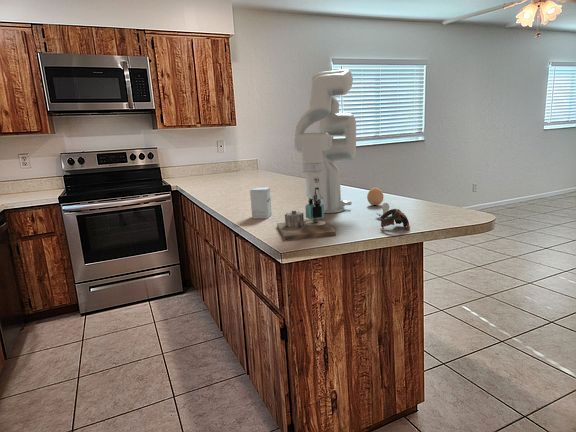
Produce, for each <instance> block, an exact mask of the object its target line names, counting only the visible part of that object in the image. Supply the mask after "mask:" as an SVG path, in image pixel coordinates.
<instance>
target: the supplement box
mask: <svg viewBox="0 0 576 432" xmlns="http://www.w3.org/2000/svg"><path fill="white" fill-rule="evenodd" d="M249 193H250V194H249V195H250V209H251V218H252V219H269V218H270V216H272V214H273V213H272V198H271V187H270V186H267V187H265V186H264V187H263V186H261V187H253V188H252V189H250V191H249Z"/></svg>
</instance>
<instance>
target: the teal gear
mask: <svg viewBox="0 0 576 432" xmlns="http://www.w3.org/2000/svg"><path fill="white" fill-rule="evenodd" d="M312 207H313V204H309V205H308V204H306V205H305V218H306V219H308V220H313V219H323V218H324V217H325V213H324V205H323V204H321V212H322V217H318V218H313V208H312Z"/></svg>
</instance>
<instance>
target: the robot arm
mask: <svg viewBox="0 0 576 432" xmlns="http://www.w3.org/2000/svg"><path fill="white" fill-rule="evenodd" d="M353 79H354V78H353V74H352V72H351V70H350V69H336V70H335V69H334V70H327V71H325V70H324V71H319V72H317V73H315V74H313V75H312V77H311V88H310V89H311V90H310V98H309V100H310V101H309V108H308V109H307V110H306V111H305V112H304V113H303V114H302V116H300V118H299V119H298V121H297V124H296V125H295V132H294V139H293V140H294V142H293V143H294V149H295V151H296V152H298V153H300V154H302V155H301V156H302V160H301V161H302V173H304V174H305V193H306V196H307V197H308V198H307V199H308V202H307V203H308V204H307V205H309V204H313V207H312V208H313V218H318V217H322V212H321V204H323V205H324V214H336V213H341V212H344V211H345V209H346V208H345V207H346V206H351V205H352V200H343V199H342V198H341V197H342V195H341V192H342V191H341V171H340V169H339V167H338V165H337V164H336V163H335V162H345V161H352V160H354V159H355V158H356V153H357V121H356V118H355V116H354V114H352V113H349V112H347V113H346V112H345V113H340V103H339V100H337V98H336V97H338V96H345V95H347V94H348V93H349V92H350V91H351V89H352V86H353V81H354V80H353ZM317 122H318V123H319V125H318V127H319V132H306V130H307V129H308V128H309V127H310V126H311V125H314V124H315V123H317ZM332 137H344V138H332ZM318 219H319V218H318Z"/></svg>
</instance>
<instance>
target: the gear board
mask: <svg viewBox="0 0 576 432" xmlns="http://www.w3.org/2000/svg"><path fill="white" fill-rule="evenodd" d="M276 227H277V229H278V231H279V233H280V234H281V236H282V238H283V240H284V241H285V242H287V241H294V240H304V239H313V238H324V237H335V236H337V235H336V234H337V232H336V230H335V229H334V228H333V227H331V226H330V224H328V223H327V222H326V221H325V220H324V219H323V218H318V219H308V220H305V219H304V212H301V211H297V210H292V211H290V212H286V213H285V214H284V222H277V223H276Z"/></svg>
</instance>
